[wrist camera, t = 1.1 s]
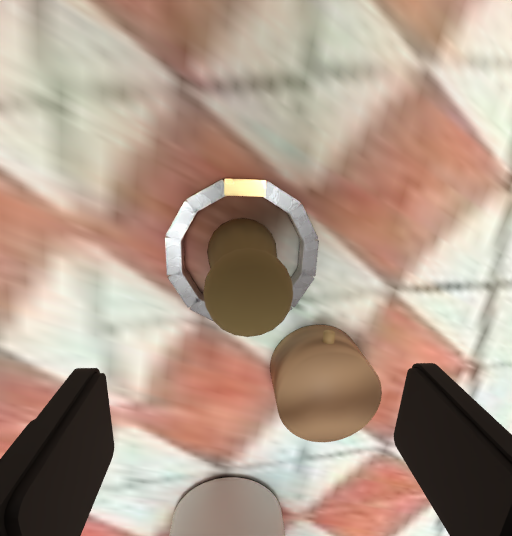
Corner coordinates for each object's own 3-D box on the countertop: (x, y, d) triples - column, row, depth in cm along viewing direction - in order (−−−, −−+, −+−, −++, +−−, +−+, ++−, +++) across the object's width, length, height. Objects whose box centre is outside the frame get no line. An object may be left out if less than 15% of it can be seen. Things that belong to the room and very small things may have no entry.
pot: (272, 317, 29) (281, 345, 24) (365, 316, 30) (391, 344, 25) (267, 409, 32) (274, 451, 27) (351, 407, 33) (371, 447, 28)
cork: (220, 207, 26) (214, 232, 15) (287, 232, 27) (324, 271, 16) (198, 273, 27) (178, 336, 17) (262, 293, 28) (281, 365, 18)
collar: (166, 176, 24) (160, 176, 22) (318, 181, 26) (326, 182, 23) (172, 317, 28) (168, 329, 26) (306, 317, 29) (312, 328, 27)
